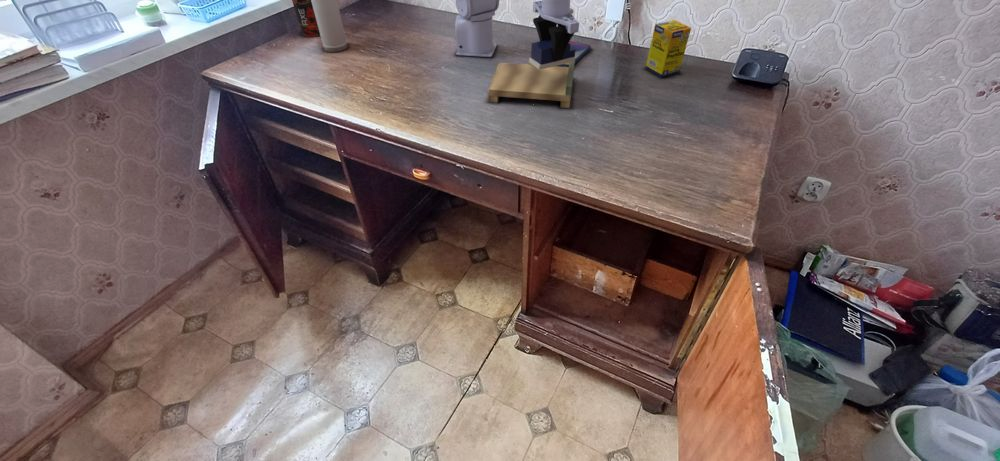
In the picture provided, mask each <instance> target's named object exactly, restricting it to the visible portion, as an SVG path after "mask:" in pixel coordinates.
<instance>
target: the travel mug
mask: <svg viewBox="0 0 1000 461" xmlns="http://www.w3.org/2000/svg"><path fill="white" fill-rule="evenodd" d="M311 2H312V5H313V9H314V13H315V17H316V20H317V24H318V28H319V32H320V35H319V36H320V40H321V43H322V46H323V50H324V51H326V52H329V53H338V52H342V51H345V50H347V48H348V47H349V46H348V45H349V44H348V40H347V36H346V32H345V27H344V23H343V19H342V15H341V11H340V6H339V2H338V0H311Z"/></svg>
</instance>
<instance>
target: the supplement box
mask: <svg viewBox="0 0 1000 461" xmlns="http://www.w3.org/2000/svg"><path fill="white" fill-rule="evenodd" d="M691 30H692V27H690V26H688V25H687V24H684V23H682V22H680V21H678V20H676V19H673V20H669V21H665V22H660V23H659V22H658V23H655V24H654V28H653V33H652V37H651V41H650V46H649V50H648V55H647V60H646V64H645V69H646V70H647V71H649V72H651V73H652V74H654V75H656V76H657V77H659V78H664V77H667V76H671V75H674V74H679V73H680V70H681V67H682V63H683V60H684V56H685V52H686V49H687V46H688V45H687V44H688V41H689V38H690V34H691Z"/></svg>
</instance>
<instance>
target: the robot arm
mask: <svg viewBox="0 0 1000 461" xmlns="http://www.w3.org/2000/svg"><path fill="white" fill-rule="evenodd" d="M532 4H533V6H532V12H533V13H536V14H537V13H538V15H537V17H534V18H532V23H533V25H534V27H535V30H536V31H537V35H538V39H539V40H538V41H544V40H548V39H551V40H552V55H553V60H554V61H558V60H562V59H563V56H564V54H565V51H566V48H567V45H568V43H569V41H571V39H572V38H573V37H574V35H575V34H577V33H579V30H580V21H578V20H577V19H576V18H575V16H574V15H573V14H574V9H573V8H571V0H538V1H533V3H532ZM455 6H456V10H457V13H458V14H457V16H456V18H455V23H454V24H455V25H454V28H455V29H454V31H455V32H454V33H455V46H456V53H455V54H456V56H466V57H478V58H479V57H480V58H492V57H493V56H494V52H495V50H496V49H497V43H494V33H493V32H494V31H493V26H494V24H493V20H494V19H493V17H494V16H495V15H496V11H497V10H498V9H499V6H500V0H455Z"/></svg>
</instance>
